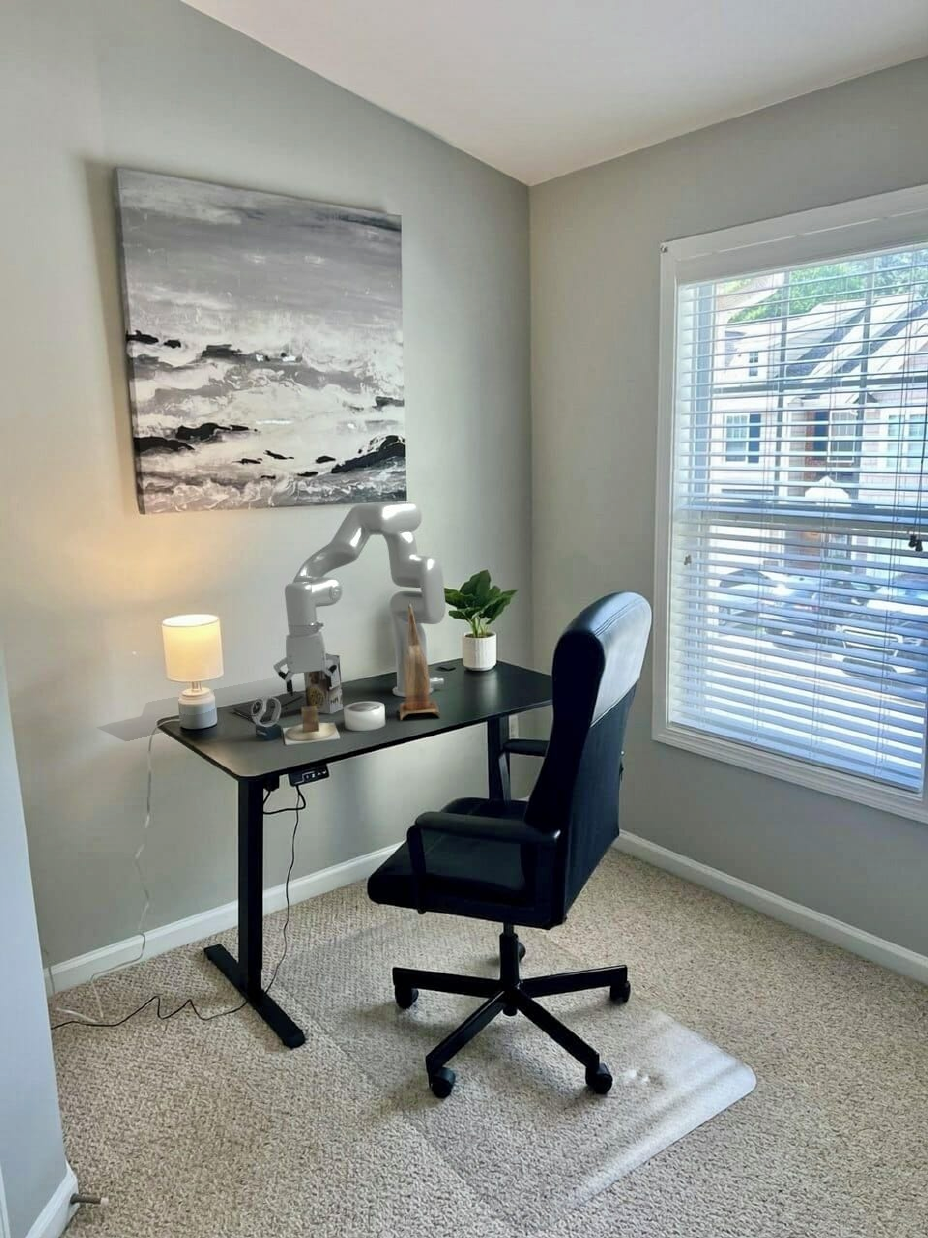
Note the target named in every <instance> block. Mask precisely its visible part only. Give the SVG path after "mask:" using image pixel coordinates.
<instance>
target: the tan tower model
mask: <svg viewBox="0 0 928 1238" xmlns="http://www.w3.org/2000/svg"><path fill="white" fill-rule="evenodd" d="M428 665H429V663H428V659H427V660H426V657H425V655H424V653H423V650H422V648H421V645H420V642H419V638H418V633H417V628H416V624H415V619H414V615H413V611H412V606H411V604H409V605H408V647H407V651H406V656H405V660H404V679H405V696H406V697H404V698H405V699H404V700H405V702H401V703H400V704H399V706H398V712H400V713H399V717H400V721H403V719H404V718H405V717H406V716H407V715H409V714H418V713H433V714H434V715H436V716H437V717H438V718H439V719H441V713H440V712H439V708H438V705H437V702H436V701H434V700H431V693H430V688H429V677H430V674H429V666H428Z"/></svg>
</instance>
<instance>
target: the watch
mask: <svg viewBox="0 0 928 1238" xmlns="http://www.w3.org/2000/svg"><path fill="white" fill-rule="evenodd" d="M276 698H277V697H273V696H270V695H264V696H261V697H259V698H257V699H255V701H254V702H253V705H252V707H251V715H252V718H253V720H254V721H253V720H252V721H253V722H254V723H255V724H256V725H255V735H256V738H258V737H259V738H258V739H261V740H264V741H267V742H269V741H272V740H276V739H279V738H283V737H282V736H283V735H282V725H281V724H277V723H278V722H279V719H280V718H279V717H280V714H281V704H280V702H279V701H278V700H277V699H276ZM269 699H273V700H274V702H275V704H276V705H275V709H274V713H273V716H272V718H271V719H272V720H271V721H267V722H263V723H260V721H259V720H260V719H261V716H262V715H263V714H264V712H265V711H266V703H267V700H269Z"/></svg>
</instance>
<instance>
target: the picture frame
mask: <svg viewBox="0 0 928 1238" xmlns="http://www.w3.org/2000/svg"><path fill="white" fill-rule="evenodd" d="M304 695H305V694H303V693H301V692H298V691H297V690H293V696H290V692H288V693H287V692H286V693H281V694H280V695H279V696H278V697H275V698H276V699H277V700H278V701H279V702H280V704H281V714H280V717H279V719H281V718H282V719H283V718H286V717H289V716H294V714H295V715H298V713H299V714H302V712H301V707H307V703H306V696H304ZM253 703H254V702H253ZM253 703H249V704H245V705H239V706H234V707H233V712H234V711H235V712H238V713H240V714H242V715H244V716H246V717H248V718H250V719H251V721H253V718H252V715H251V707H252V705H253ZM275 705H276V704H275V702H274V700H273V699H272V698H271V699H267V703H266V711H265V712H264V714H263V715H262V716H261V719H260V720H259V721H260V723H261V724H263V723H267V722H271V720H272V719H271V718H272V716H273V713H274V709H275ZM246 717H245V718H246ZM248 718H247V719H248ZM250 719H249V720H250ZM262 722H263V723H262Z"/></svg>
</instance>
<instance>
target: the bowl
mask: <svg viewBox="0 0 928 1238" xmlns="http://www.w3.org/2000/svg"><path fill="white" fill-rule="evenodd" d="M385 710H386V709H385V705H384V703H381V702H378V701H359V702H354V703H350V704H347V705H346V706H343V714H344V715H343V716H344V727H345V729H346V730H350V731H354V732H367V731H374V730H378V729H380V728H383V727H385V725H386V714H385V713H386V712H385Z"/></svg>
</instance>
